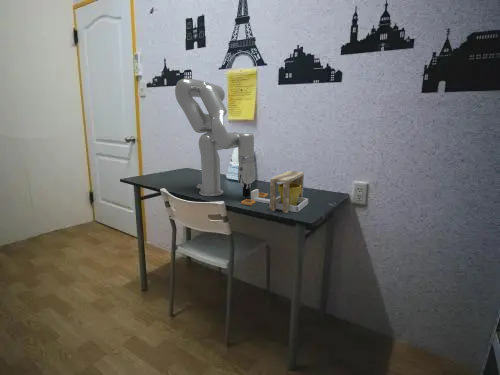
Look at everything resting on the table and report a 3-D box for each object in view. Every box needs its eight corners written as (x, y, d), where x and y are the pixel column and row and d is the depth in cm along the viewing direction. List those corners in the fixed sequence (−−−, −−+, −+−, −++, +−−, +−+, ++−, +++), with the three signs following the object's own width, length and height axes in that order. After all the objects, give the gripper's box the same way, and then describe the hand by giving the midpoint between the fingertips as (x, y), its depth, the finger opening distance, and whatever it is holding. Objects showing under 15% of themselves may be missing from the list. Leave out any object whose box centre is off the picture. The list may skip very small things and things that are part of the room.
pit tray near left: (254, 197, 151) (254, 194, 150) (259, 195, 155) (259, 192, 155) (263, 198, 149) (263, 195, 148) (268, 196, 153) (268, 193, 152)
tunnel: (269, 210, 131) (270, 178, 128) (287, 198, 149) (288, 170, 145) (286, 213, 128) (288, 180, 124) (302, 200, 145) (303, 172, 142)
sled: (246, 203, 140) (246, 193, 139) (260, 196, 153) (260, 187, 151) (297, 212, 128) (298, 201, 127) (308, 203, 141) (308, 193, 140)
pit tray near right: (241, 204, 139) (241, 201, 139) (246, 201, 143) (246, 198, 143) (250, 206, 137) (250, 203, 136) (255, 203, 141) (255, 200, 140)
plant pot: (284, 201, 145) (285, 181, 142) (304, 204, 139) (305, 184, 137) (273, 206, 137) (274, 185, 134) (293, 210, 131) (294, 189, 128)
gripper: (245, 162, 135) (245, 201, 140) (260, 157, 148) (259, 193, 152) (231, 161, 139) (231, 199, 143) (246, 157, 152) (247, 192, 156)
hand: (246, 196), depth 148 cm, fingers closed
